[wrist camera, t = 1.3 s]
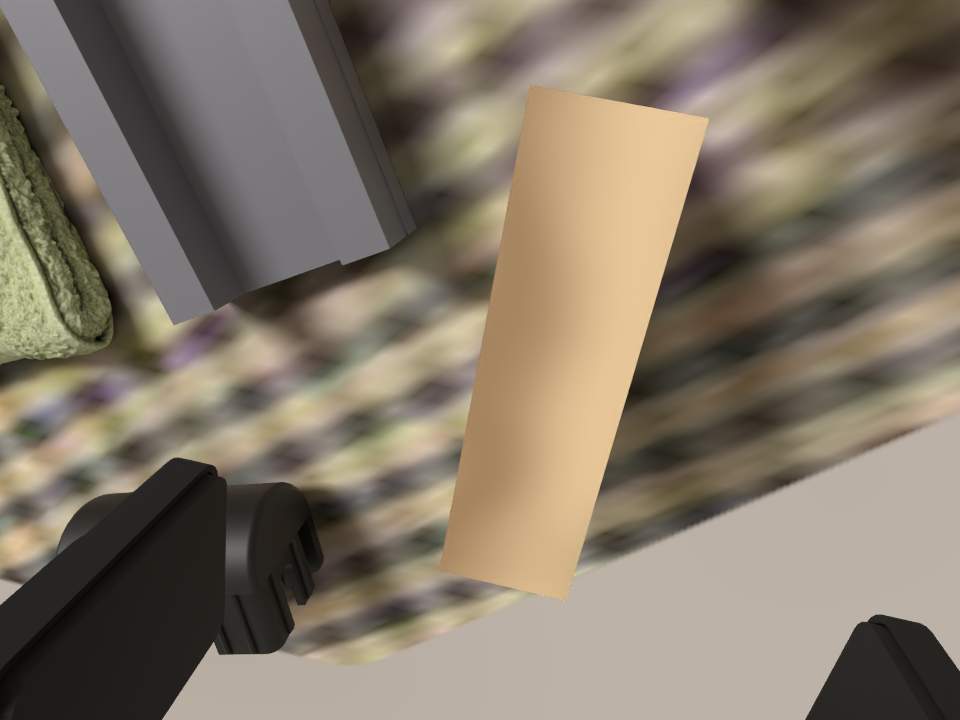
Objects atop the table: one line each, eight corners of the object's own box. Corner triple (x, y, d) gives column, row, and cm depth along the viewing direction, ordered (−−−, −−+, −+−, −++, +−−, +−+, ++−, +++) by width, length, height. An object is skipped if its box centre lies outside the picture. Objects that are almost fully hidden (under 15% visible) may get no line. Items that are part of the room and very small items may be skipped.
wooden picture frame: (652, 114, 24) (713, 119, 14) (569, 430, 29) (569, 601, 19) (544, 94, 24) (525, 84, 14) (482, 411, 29) (436, 570, 19)
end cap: (302, 451, 32) (236, 535, 25) (335, 564, 34) (282, 665, 28) (130, 464, 33) (29, 545, 27) (173, 570, 36) (90, 667, 30)
